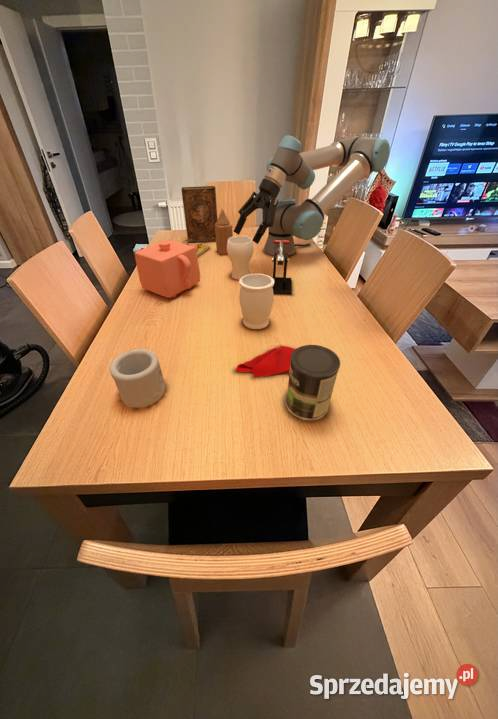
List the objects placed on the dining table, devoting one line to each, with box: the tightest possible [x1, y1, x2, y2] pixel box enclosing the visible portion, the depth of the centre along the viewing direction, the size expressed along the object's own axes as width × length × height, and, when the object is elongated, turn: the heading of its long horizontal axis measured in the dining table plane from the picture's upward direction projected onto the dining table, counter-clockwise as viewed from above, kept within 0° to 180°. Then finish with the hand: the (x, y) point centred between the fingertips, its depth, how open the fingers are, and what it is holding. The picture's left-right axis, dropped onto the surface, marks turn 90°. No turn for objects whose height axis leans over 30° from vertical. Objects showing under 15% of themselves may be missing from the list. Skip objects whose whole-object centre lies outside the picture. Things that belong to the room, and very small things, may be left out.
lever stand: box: [271, 253, 293, 296], centre depth 114 cm, size 12×10×13 cm
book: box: [180, 185, 218, 244], centre depth 152 cm, size 16×6×25 cm, turn 102°
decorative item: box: [215, 207, 234, 256], centre depth 140 cm, size 7×7×20 cm
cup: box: [226, 235, 254, 281], centre depth 121 cm, size 11×11×15 cm
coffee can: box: [285, 344, 341, 422], centre depth 67 cm, size 10×10×14 cm
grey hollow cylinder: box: [109, 348, 166, 409], centre depth 73 cm, size 14×11×10 cm
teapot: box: [134, 239, 201, 299], centre depth 114 cm, size 25×23×18 cm
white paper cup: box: [238, 273, 275, 330], centre depth 94 cm, size 11×10×15 cm
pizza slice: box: [185, 242, 210, 258], centre depth 143 cm, size 16×21×3 cm
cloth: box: [235, 345, 296, 378], centre depth 83 cm, size 26×14×2 cm, turn 84°
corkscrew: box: [273, 240, 289, 266], centre depth 113 cm, size 11×6×2 cm, turn 175°
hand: (245, 237), depth 117 cm, fingers open, 13 cm apart
